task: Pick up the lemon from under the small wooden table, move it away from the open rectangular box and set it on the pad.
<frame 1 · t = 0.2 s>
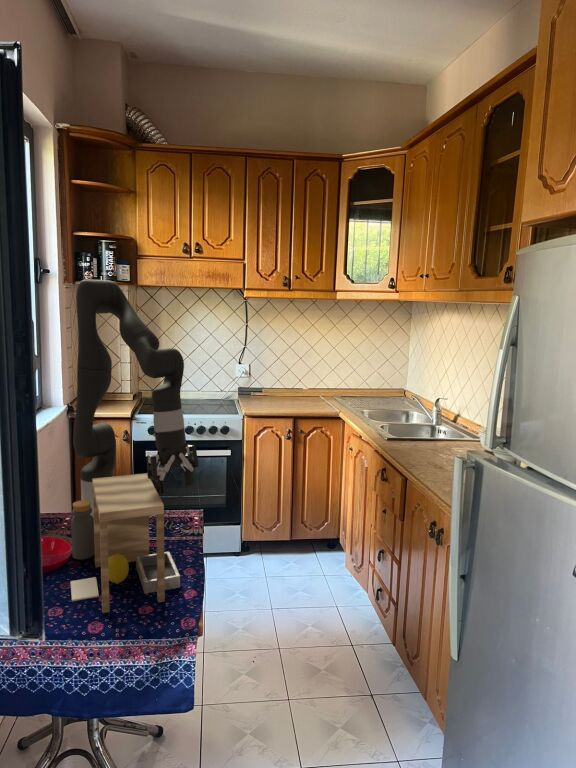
hand: (175, 489, 142), 22 cm above the table, tool pointing down, fingers open, 8 cm apart
lemon: (117, 584, 138), on the table
pad: (84, 589, 135), on the table
bottle: (83, 555, 153), on the table
small wooden table: (127, 582, 139), on the table
open rectangular box: (157, 576, 142), on the table
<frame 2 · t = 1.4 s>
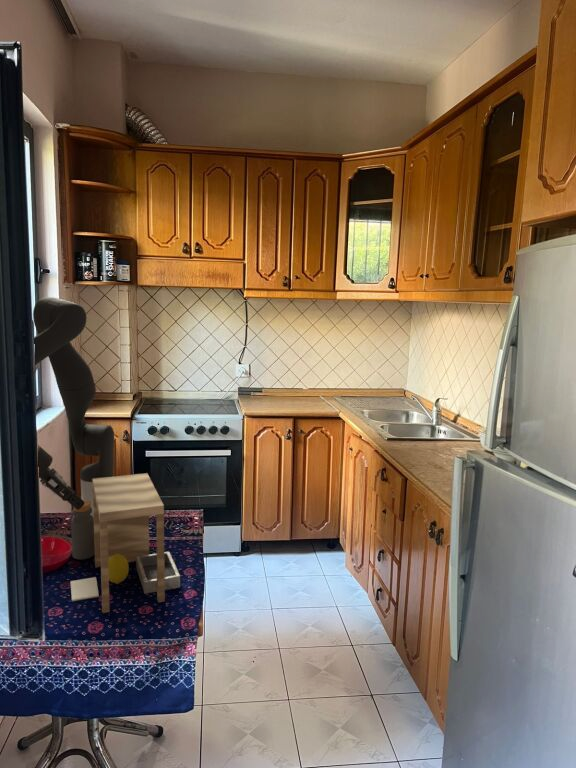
hand: (77, 501, 130), 23 cm above the table, tool tilted 40°, fingers open, 8 cm apart
nothing on the table moved.
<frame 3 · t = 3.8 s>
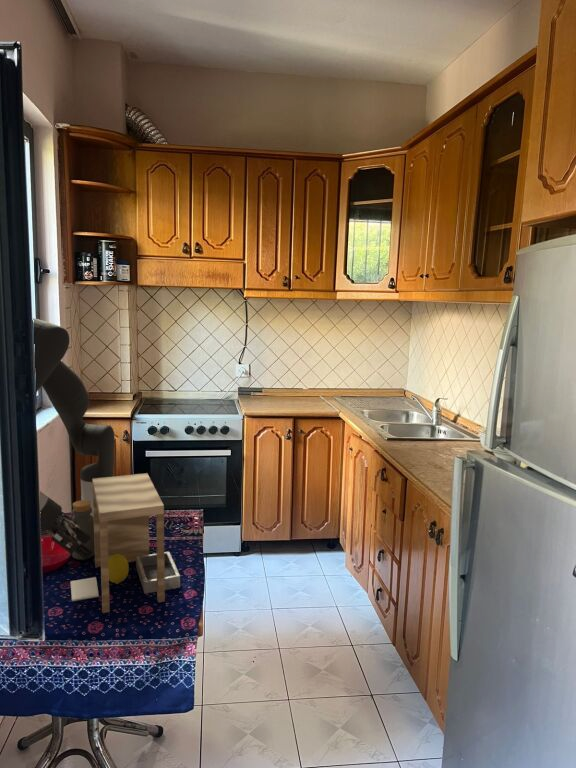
hand: (89, 547, 134), 11 cm above the table, tool tilted 45°, fingers open, 8 cm apart
nothing on the table moved.
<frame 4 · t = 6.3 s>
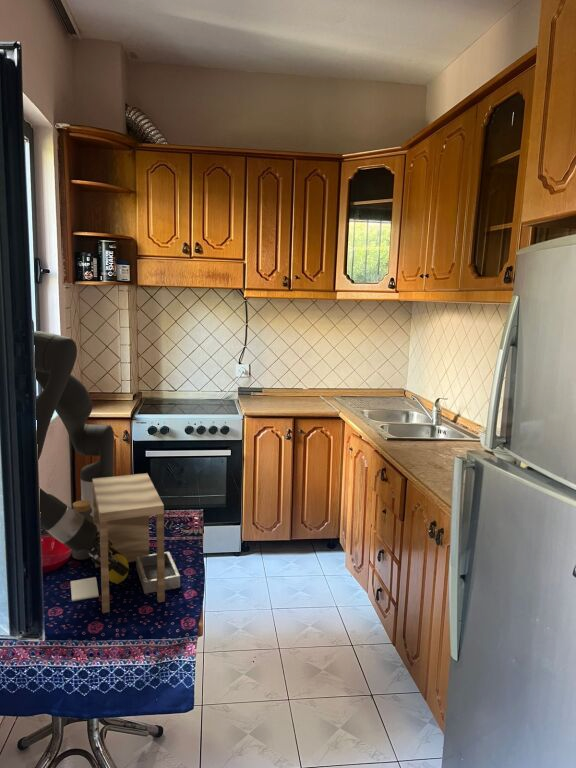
hand: (124, 566, 138), 4 cm above the table, tool tilted 45°, fingers closed on lemon, 5 cm apart
lemon: (117, 584, 138), on the table, touching gripper
everything else where it was.
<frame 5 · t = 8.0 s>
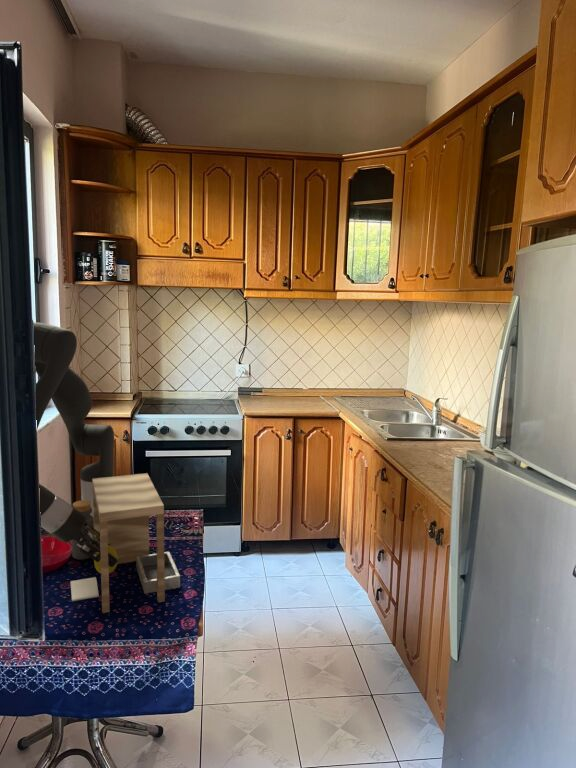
hand: (113, 557, 137), 7 cm above the table, tool tilted 45°, fingers closed on lemon, 5 cm apart
lemon: (106, 575, 137), point 3 cm above the table, touching gripper
everything else where it was.
when the fingers open (6 cm above the table, at t = 9.8 s): lemon stays where it is, resting on pad.
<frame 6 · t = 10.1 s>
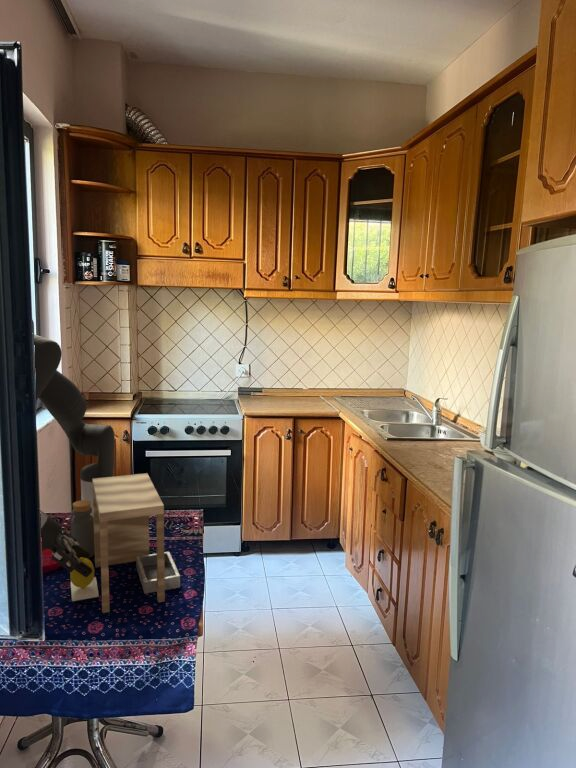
hand: (88, 565, 135), 6 cm above the table, tool tilted 45°, fingers open, 8 cm apart
lemon: (82, 589, 135), resting on pad
everything else where it was.
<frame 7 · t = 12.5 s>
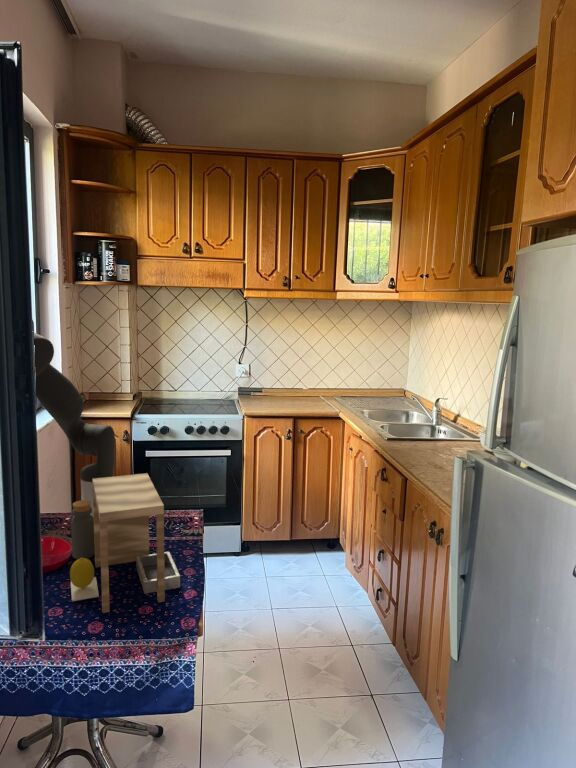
hand: (31, 556, 130), 10 cm above the table, tool tilted 35°, fingers open, 8 cm apart
nothing on the table moved.
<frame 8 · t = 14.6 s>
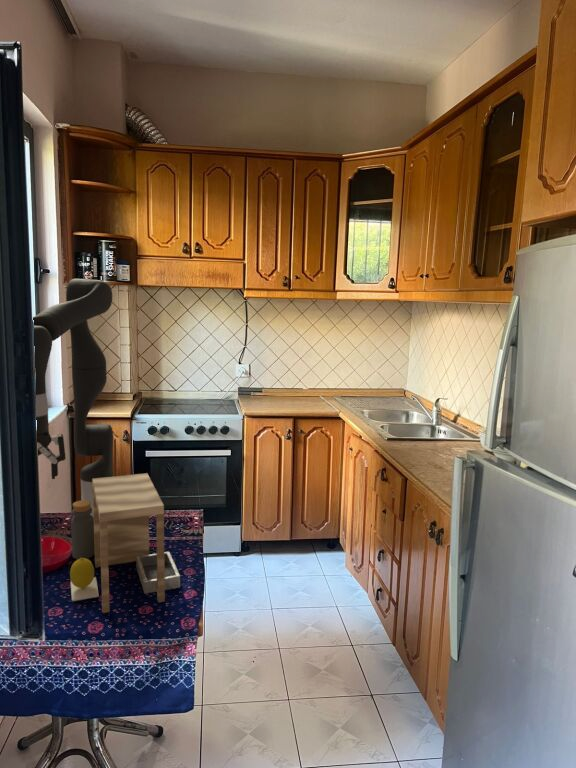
hand: (33, 480, 129), 28 cm above the table, tool pointing down, fingers open, 8 cm apart
nothing on the table moved.
at the end: lemon inside the target area (0.2 cm from its centre), resting on pad; lemon touching pad; the gripper is holding nothing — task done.
